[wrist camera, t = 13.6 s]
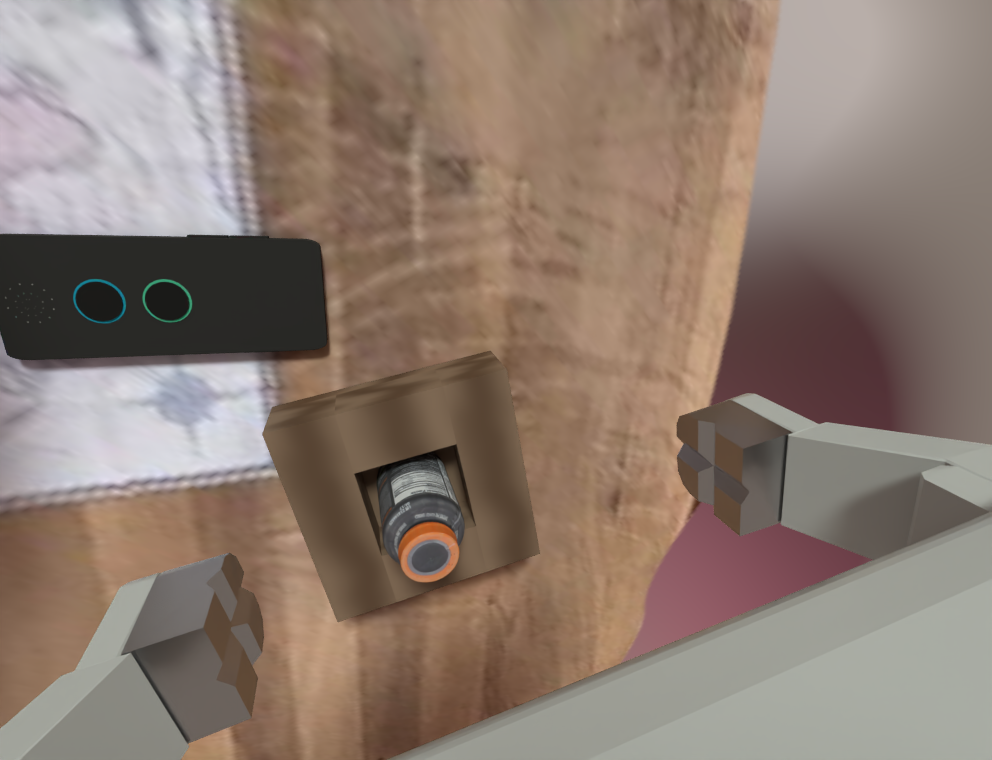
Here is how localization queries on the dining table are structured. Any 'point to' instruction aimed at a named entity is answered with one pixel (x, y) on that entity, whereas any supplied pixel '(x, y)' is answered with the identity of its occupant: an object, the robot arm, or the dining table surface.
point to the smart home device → (158, 295)
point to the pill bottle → (420, 516)
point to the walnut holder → (393, 437)
